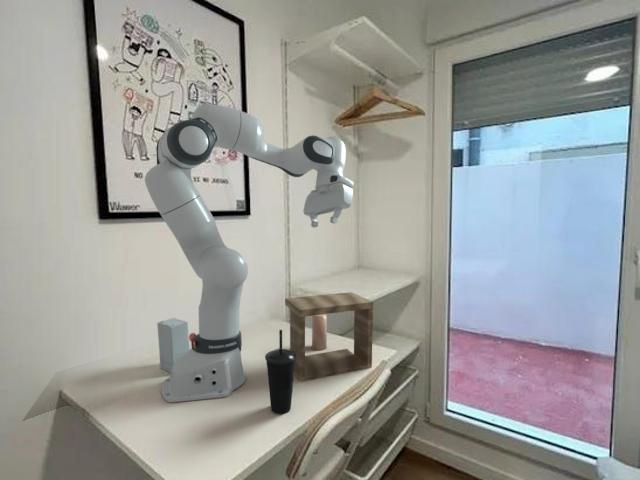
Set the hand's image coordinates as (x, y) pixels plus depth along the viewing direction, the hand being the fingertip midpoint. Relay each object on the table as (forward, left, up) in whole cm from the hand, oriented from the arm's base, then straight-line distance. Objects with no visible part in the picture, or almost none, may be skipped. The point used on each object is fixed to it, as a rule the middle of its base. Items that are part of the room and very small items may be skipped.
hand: (323, 225), depth 111 cm
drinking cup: (-21, -23, -45) cm, 54 cm away
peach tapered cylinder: (+3, +9, -44) cm, 46 cm away
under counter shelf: (0, -5, -44) cm, 45 cm away
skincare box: (-45, +11, -45) cm, 65 cm away
